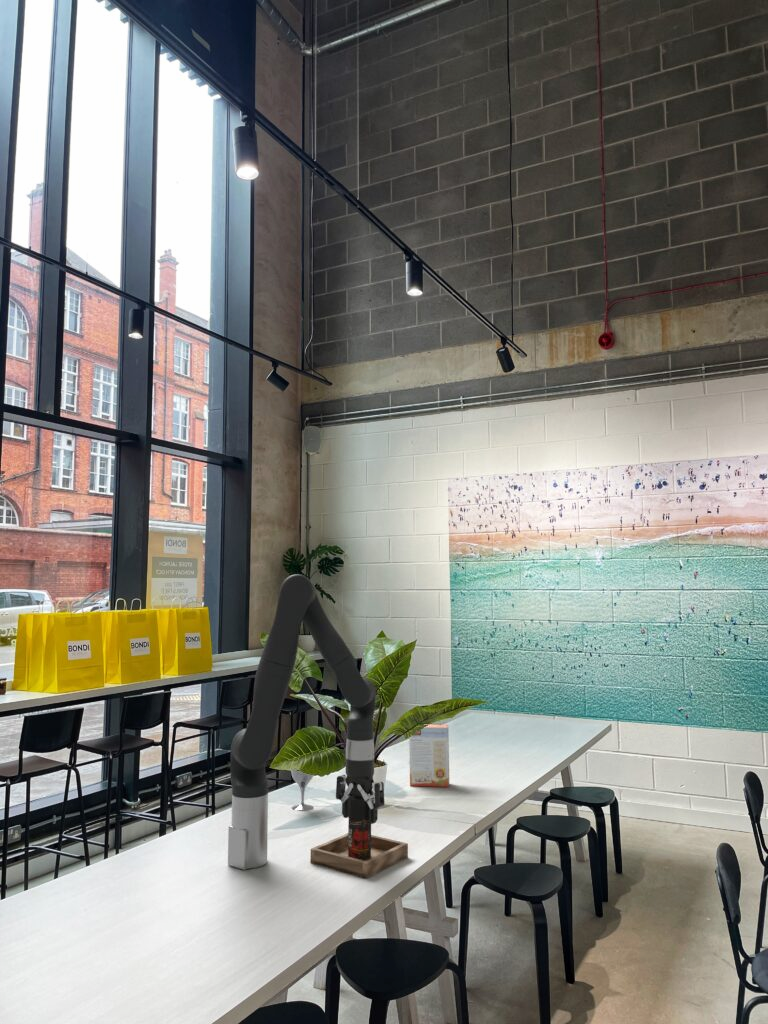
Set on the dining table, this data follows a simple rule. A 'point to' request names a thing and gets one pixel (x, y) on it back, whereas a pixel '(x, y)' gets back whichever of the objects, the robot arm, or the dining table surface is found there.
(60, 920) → the dining table surface
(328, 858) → the tray
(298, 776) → the wine glass
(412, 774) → the cracker box
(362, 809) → the deodorant
